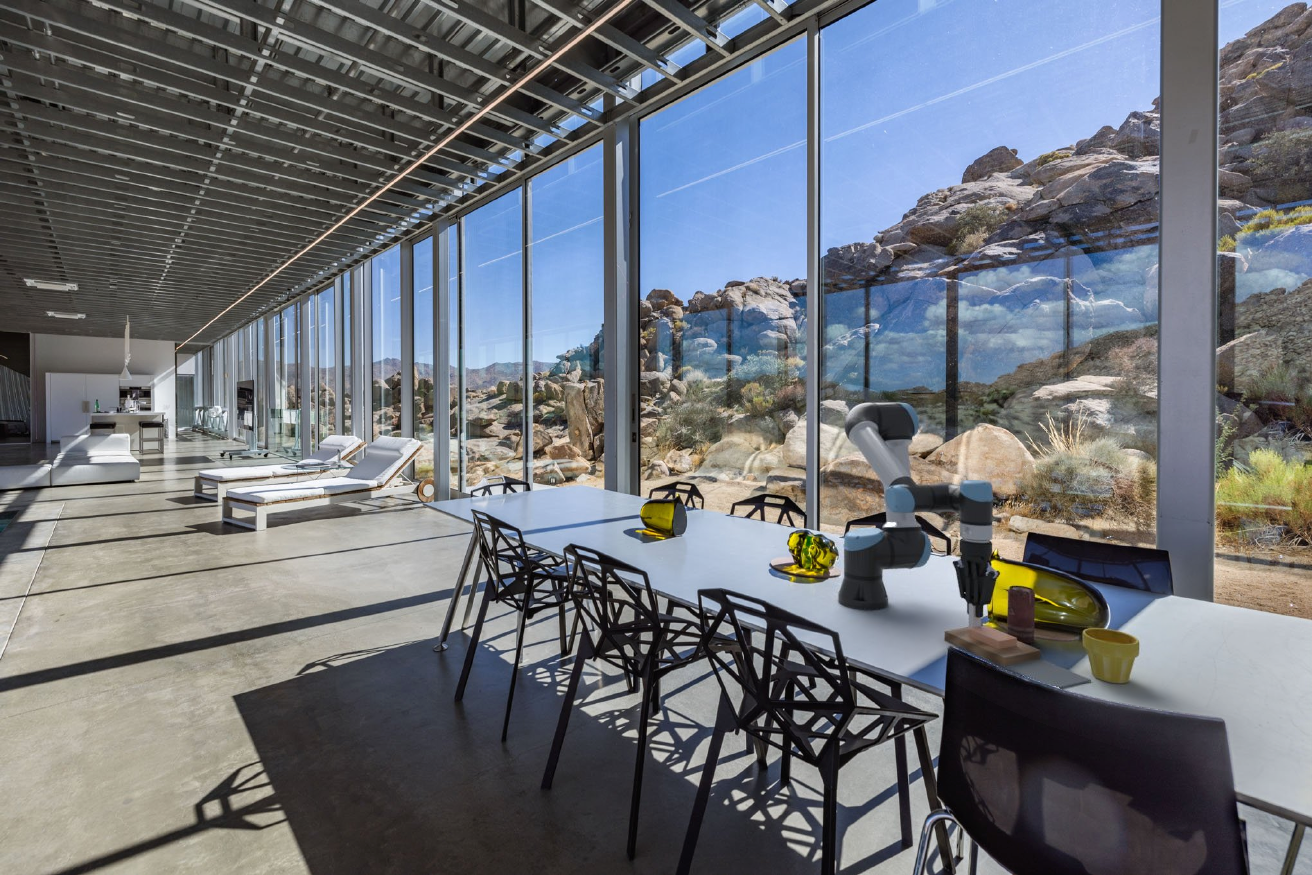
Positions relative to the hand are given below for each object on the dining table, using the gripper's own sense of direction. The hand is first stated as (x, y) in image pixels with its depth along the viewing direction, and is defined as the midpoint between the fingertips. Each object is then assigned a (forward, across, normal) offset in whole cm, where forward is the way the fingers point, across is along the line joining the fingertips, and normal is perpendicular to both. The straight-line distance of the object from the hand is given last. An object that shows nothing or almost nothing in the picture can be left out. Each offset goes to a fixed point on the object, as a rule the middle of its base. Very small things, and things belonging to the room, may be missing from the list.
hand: (974, 628), depth 155 cm
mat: (+4, +20, 0) cm, 20 cm away
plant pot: (+4, +26, +12) cm, 29 cm away
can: (+4, +3, +13) cm, 14 cm away
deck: (+4, +5, 0) cm, 6 cm away
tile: (+2, +5, 0) cm, 5 cm away
